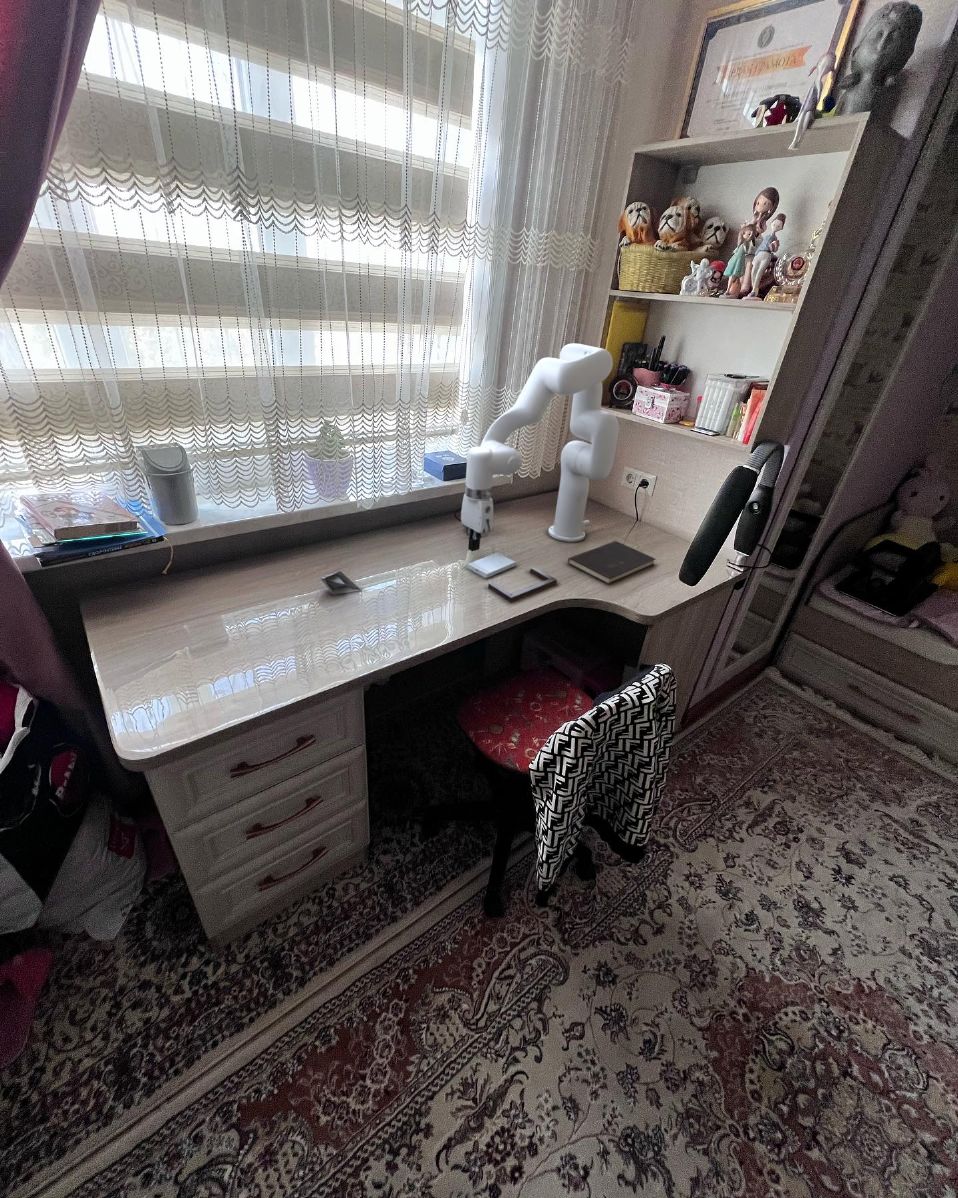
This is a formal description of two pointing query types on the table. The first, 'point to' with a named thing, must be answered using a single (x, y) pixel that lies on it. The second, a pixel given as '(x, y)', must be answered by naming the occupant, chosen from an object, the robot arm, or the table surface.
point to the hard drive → (491, 565)
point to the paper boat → (339, 583)
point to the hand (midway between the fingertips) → (473, 549)
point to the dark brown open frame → (527, 591)
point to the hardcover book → (611, 562)
